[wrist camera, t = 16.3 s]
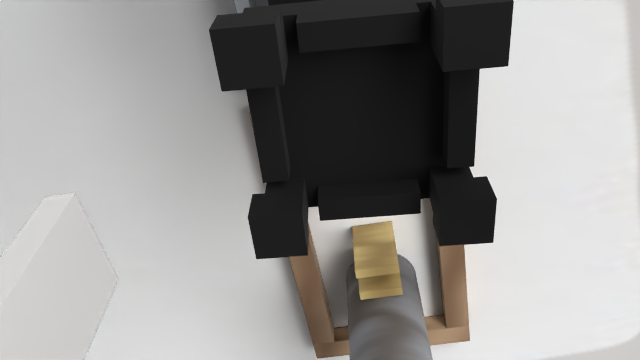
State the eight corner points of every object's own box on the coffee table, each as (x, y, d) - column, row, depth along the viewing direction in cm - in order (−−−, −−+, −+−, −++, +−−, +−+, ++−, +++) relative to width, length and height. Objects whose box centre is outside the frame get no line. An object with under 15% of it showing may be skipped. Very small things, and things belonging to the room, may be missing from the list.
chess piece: (265, -94, 30) (189, 14, 13) (415, -110, 30) (532, -19, 13) (285, 50, 34) (246, 269, 18) (416, 38, 34) (505, 251, 17)
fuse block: (317, 344, 50) (314, 523, 37) (252, 104, 37) (213, 249, 25) (469, 326, 48) (520, 505, 36) (454, 70, 36) (523, 206, 23)
